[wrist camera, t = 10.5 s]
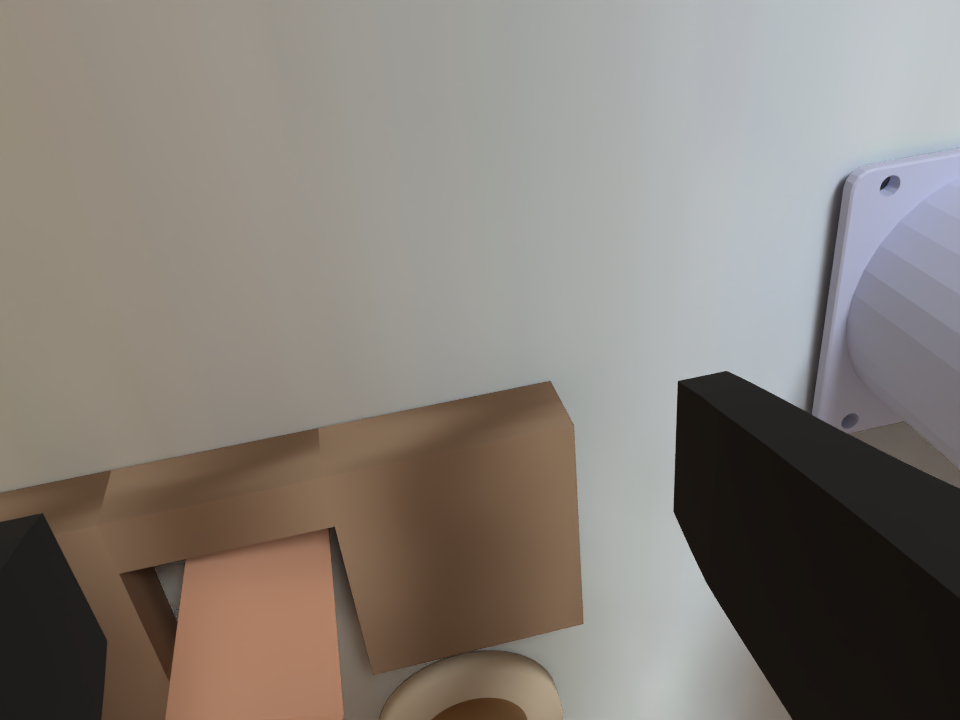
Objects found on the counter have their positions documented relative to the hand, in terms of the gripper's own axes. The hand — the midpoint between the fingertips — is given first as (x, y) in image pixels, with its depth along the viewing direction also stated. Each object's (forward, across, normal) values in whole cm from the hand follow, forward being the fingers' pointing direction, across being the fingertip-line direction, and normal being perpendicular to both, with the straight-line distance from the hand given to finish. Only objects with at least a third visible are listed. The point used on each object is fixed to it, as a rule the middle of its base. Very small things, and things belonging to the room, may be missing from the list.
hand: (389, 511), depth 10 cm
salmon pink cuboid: (+10, +4, +10) cm, 15 cm away
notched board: (+10, +3, +9) cm, 14 cm away
